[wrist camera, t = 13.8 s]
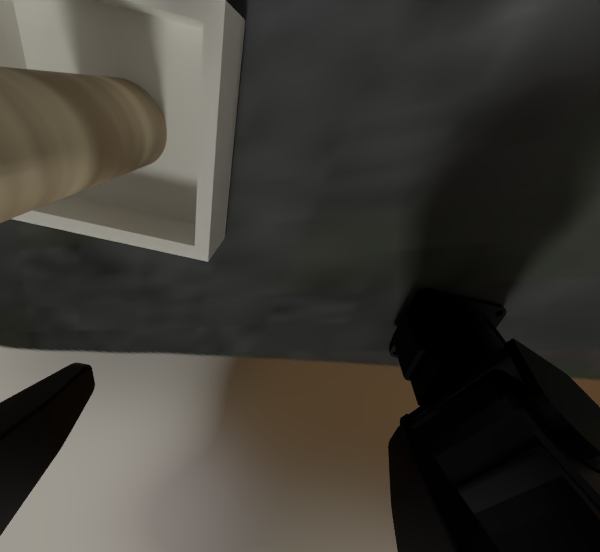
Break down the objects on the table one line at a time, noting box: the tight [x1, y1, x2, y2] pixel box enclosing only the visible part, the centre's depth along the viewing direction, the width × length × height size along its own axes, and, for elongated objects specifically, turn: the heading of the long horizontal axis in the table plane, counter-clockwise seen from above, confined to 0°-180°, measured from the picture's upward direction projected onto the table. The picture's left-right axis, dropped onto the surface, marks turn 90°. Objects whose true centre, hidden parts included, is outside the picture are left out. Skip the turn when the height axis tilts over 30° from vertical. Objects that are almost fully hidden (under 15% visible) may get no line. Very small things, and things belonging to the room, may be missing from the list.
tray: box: [0, 0, 245, 261], centre depth 16 cm, size 12×12×4 cm
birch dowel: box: [0, 67, 167, 223], centre depth 11 cm, size 4×4×13 cm
